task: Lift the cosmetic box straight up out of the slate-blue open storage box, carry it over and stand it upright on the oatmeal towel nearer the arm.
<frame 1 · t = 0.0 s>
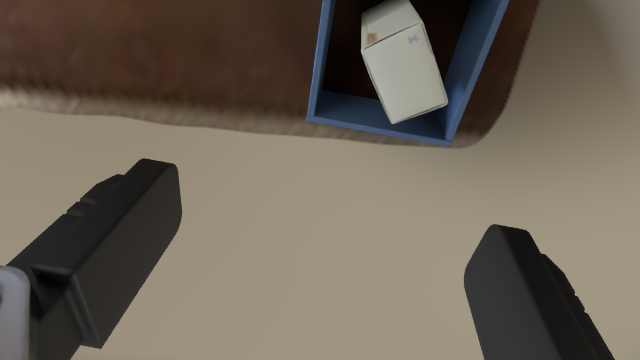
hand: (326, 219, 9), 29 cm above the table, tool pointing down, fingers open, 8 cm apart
cosmetic box: (393, 35, 34), resting in storage box
storage box: (393, 35, 34), on the table
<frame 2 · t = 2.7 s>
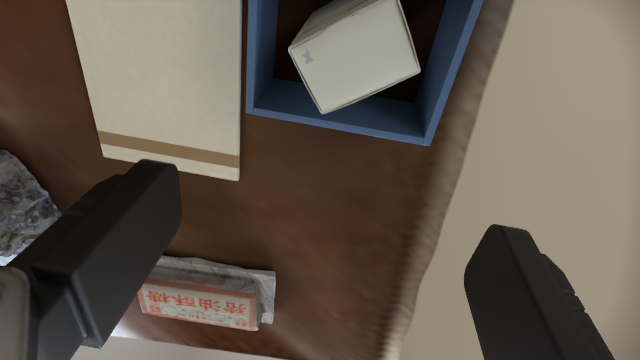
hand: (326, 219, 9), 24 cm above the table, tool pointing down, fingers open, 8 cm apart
cosmetic box: (357, 19, 29), resting in storage box
mineral rock: (30, 191, 44), on the table
storage box: (357, 19, 29), on the table
packaged product: (213, 282, 50), on the table
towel: (161, 67, 33), on the table
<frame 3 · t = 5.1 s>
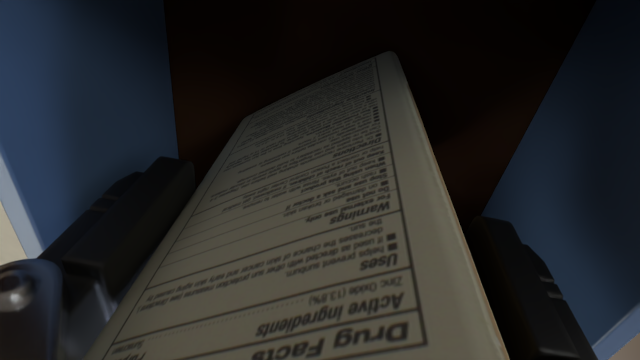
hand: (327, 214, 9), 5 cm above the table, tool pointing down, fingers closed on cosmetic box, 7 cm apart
cosmetic box: (340, 129, 14), resting in storage box, touching gripper
storage box: (340, 131, 14), on the table
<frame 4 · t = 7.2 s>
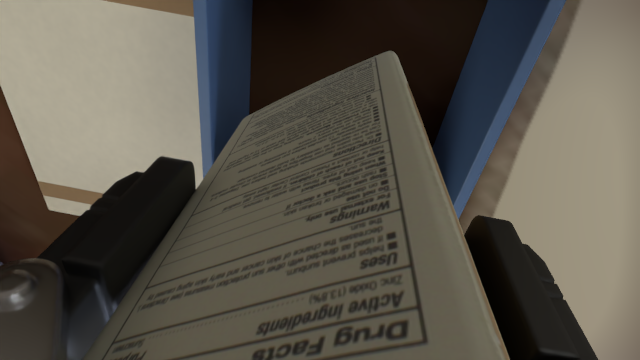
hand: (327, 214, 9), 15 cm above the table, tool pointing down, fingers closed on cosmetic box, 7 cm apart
cosmetic box: (340, 129, 14), point 10 cm above the table, touching gripper
storage box: (355, 56, 22), on the table
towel: (109, 110, 26), on the table
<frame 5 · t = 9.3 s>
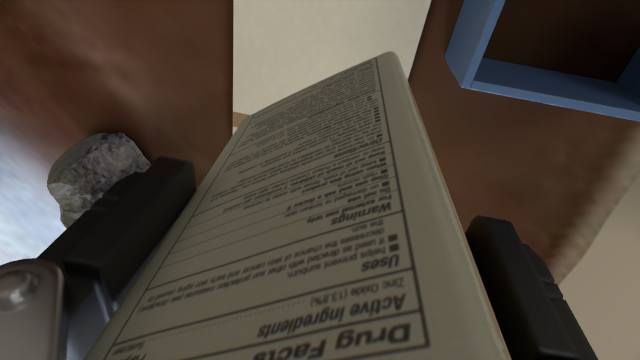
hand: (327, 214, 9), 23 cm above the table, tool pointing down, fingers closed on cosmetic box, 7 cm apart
cosmetic box: (341, 129, 14), point 18 cm above the table, touching gripper
mineral rock: (137, 179, 41), on the table
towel: (323, 40, 29), on the table
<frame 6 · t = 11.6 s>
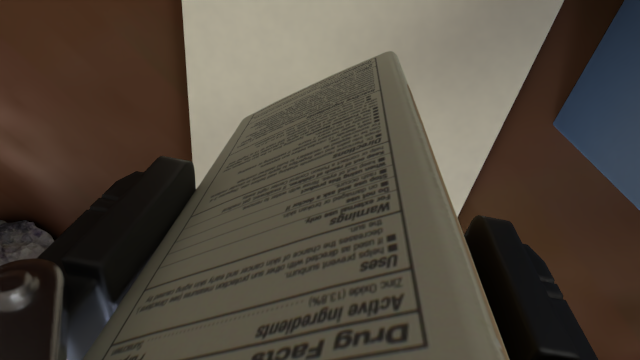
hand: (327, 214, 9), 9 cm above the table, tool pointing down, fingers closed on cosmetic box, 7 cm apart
cosmetic box: (340, 129, 14), point 4 cm above the table, touching gripper
mineral rock: (63, 276, 28), on the table
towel: (344, 94, 17), on the table
when the fingers open (6 cm above the table, at t = 13.3 s): cosmetic box stays where it is, resting on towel.
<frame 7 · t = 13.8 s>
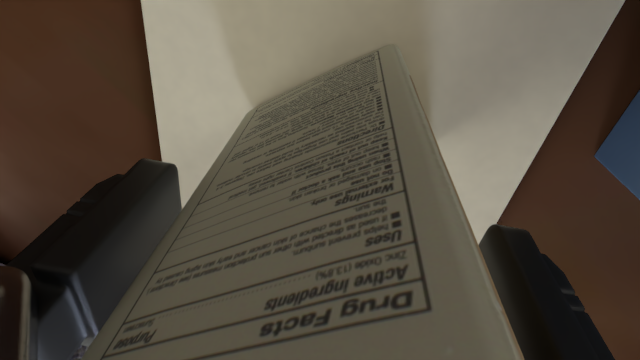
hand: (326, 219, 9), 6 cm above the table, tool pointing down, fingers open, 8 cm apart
cosmetic box: (343, 123, 14), resting on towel
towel: (342, 120, 14), on the table
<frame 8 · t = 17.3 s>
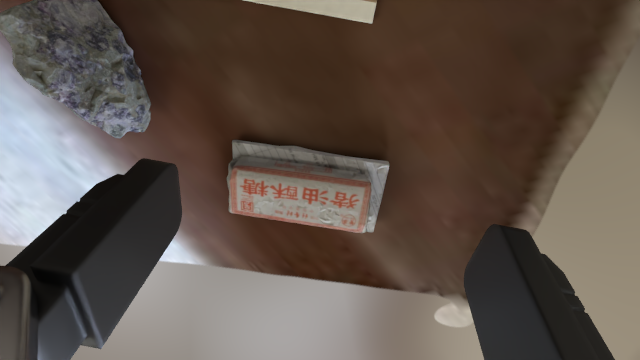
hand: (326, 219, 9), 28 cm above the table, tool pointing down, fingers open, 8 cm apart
mineral rock: (107, 58, 37), on the table
packaged product: (308, 182, 43), on the table
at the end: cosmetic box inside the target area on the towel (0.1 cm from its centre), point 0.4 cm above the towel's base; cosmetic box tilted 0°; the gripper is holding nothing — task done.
